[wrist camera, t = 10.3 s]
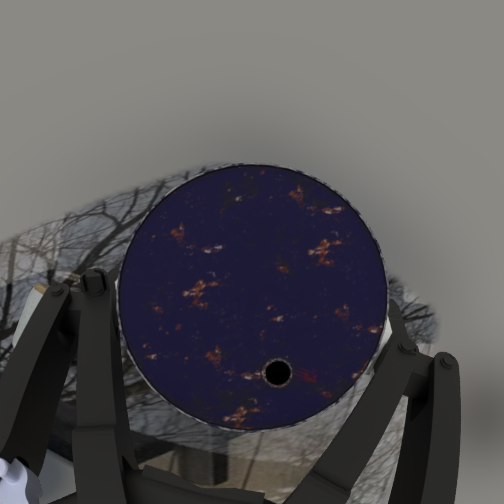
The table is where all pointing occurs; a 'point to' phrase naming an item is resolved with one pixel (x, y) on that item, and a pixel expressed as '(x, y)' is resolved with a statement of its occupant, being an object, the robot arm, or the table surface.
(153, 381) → the navy cylinder
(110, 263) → the table surface
